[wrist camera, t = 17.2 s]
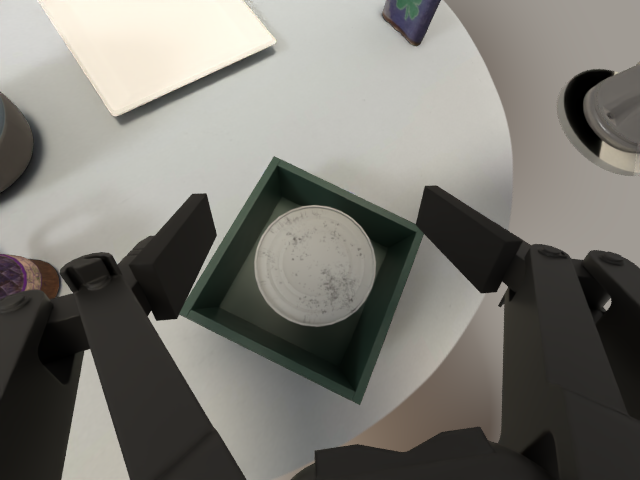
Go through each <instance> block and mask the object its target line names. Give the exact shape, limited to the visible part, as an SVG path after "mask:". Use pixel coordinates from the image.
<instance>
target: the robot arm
mask: <svg viewBox="0 0 640 480" xmlns="http://www.w3.org/2000/svg"><path fill="white" fill-rule="evenodd" d="M583 111H584V115H585V118H586V120H587V122H588V124H589V126H590V127H591V129H592V130H593V131H594V133H595V134H596V135H597V136H598V137H599V138H600V139H601V140H603V141H604V142H605V143H607V144H608V145H610V146H612V147H613V148H616V149H618V150H620V151H623V152H628V153H640V62H639V63H637V65H636V66H634V67H632V68H629V69H627V70H625V71H623V72H621V73H619V74H616V75H614V76H611V77H609V78H607V79H605V80H603V81H601V82H600V83H598V84H597V85H596V86H594V87H593V88H591V89H590V90H589V91H588V92H587V94H586V95H585V97H584V101H583ZM416 226H417V227H418V228H419V229H420V230H421V231H422V232H423V233H424V234H425V235H426V236H427V237H428V238H429V239H430V240H431V242H432V243H433V244H434V245H435V246H436V247H437V248H438V249H439V250H440V251H441V252H442V253H443V254H444V255H445V256H446V257H447V258H448V259H449V260H450V261H451V262H452V263H453V265H454V266H455V267H456V268H457V269H458V270H459V271H460V272H461V273H462V274H463V275H464V276H465V277H466V278H467V279H468V280H469V281H470V282H471V283H472V284H473V285H474V286H475V288H476V289H477V290H478V291H479V292H480V293H491V292H497V290H498V288H499V286H500V284H501V282H502V281H503V282H504V283H505V284H506V285H507V286H508V289H507V291H506V293H505V294H504V296H503V298H502V300H501V302H500V303H499V305H498V306H499V307H501V306H502V305H503V304H505V305H504V345H503V346H504V347H503V349H504V350H503V386H502V387H503V388H502V427H501V436H500V440H499V442H498V443H494V442H491V441H488V440H487V438H486V436H485V435H484V433H483V431H482V429H481V428H480V427H474V428H467V429H460V430H454V431H447V432H441V433H440V434H438V435H436V436H434V437H432V438H431V439H429V440H427V441H425V442H424V443H422V444H420V445H418V446H417V447H415V448H413V449H411V450H410V451H407V452H397V451H392V450H386V449H380V448H374V447H369V446H364V445H358V444H357V445H350V446H343V447H336V448H329V449H322V450H315V463H314V464H312V465H310V466H308V467H306V468H304V469H303V470H302V471H300V472H299V473H298V474H296V475H295V476H294V477H293V478H292V479H291V480H640V268H638V267H637V266H636V265H635V264H634V263H632V262H630V261H629V260H628V259H626V258H623V257H621V256H620V255H618V254H614V253H612V252H605V251H597V250H593V251H590V252H589V253H588V255H587V256H586V257H585V259H584V260H577V259H571V258H570V256H569V255H568V254H566V253H565V252H563V251H561V250H559V249H557V248H554V247H552V246H547V245H542V244H534V245H530V244H528V243H526V242H525V241H523V240H522V239H520V238H519V237H517V236H515V235H514V234H512V233H510V232H509V231H508V230H506V229H504V228H503V227H501V226H500V225H498V224H497V223H495V222H493V221H491V220H490V219H488V218H487V217H485V216H483V215H482V214H480V213H479V212H477V211H476V210H474V209H472V208H471V207H469V206H468V205H466V204H465V203H463V202H461V201H460V200H458V199H457V198H455V197H454V196H452V195H451V194H449V193H447V192H446V191H444V190H443V189H441V188H440V187H438V186H425V188H424V192H423V196H422V201H421V205H420V209H419V213H418V217H417V222H416ZM216 236H217V234H216V230H215V226H214V222H213V218H212V214H211V210H210V206H209V202H208V198H207V194H192V195H191V196H190V197H189V198H188V199H187V200H186V202H185V203H184V204H183V205H182V206H181V207H180V208H179V209H178V210H177V212H176V213H175V214H174V215H173V216H172V217H171V218H170V219H169V221H168V222H167V223H166V224H165V225H164V226H163V227H162V228H161V229H160V231H159V232H158V233H157V234H156V235H155V236H149V237H147V238H145V239H144V240H142V241H140V242H139V243H138V244H137V245H136V246H135V247H134V248H133V250H131V251H130V252H129V253H128V254H127V256H125V257H124V258H123V259H122V261H121V262H120V263H119V264H118V265H117V263H116V262H115V260H114V258H113V256H112V255H111V254H109V253H104V252H100V253H92V254H89V255H85V256H82V257H79V258H77V259H74V260H72V261H71V262H69V263H67V264H66V265H65V266H64V267H63V268H61V270H60V273H59V274H60V275H61V276H62V278H63V279H64V281H65V282H66V283H67V285H68V286H69V288H70V289H71V291H72V292H73V294H69V295H65V296H61V297H57V298H53V299H49V298H48V297H47V295H46V294H45V293H44V292H43V291H41V290H27V291H22V292H19V293H16V294H11V295H8V296H6V297H5V298H2V299H0V480H61V478H62V472H63V467H64V461H65V456H66V450H67V444H68V439H69V433H70V428H71V422H72V417H73V411H74V405H75V400H76V394H77V389H78V383H79V377H80V372H81V366H82V361H83V355H84V350H88V349H91V352H92V356H93V359H94V362H95V366H96V369H97V372H98V375H99V379H100V382H101V385H102V389H103V392H104V395H105V398H106V402H107V405H108V408H109V412H110V415H111V418H112V421H113V425H114V428H115V431H116V435H117V438H118V441H119V444H120V448H121V451H122V454H123V458H124V461H125V464H126V467H127V471H128V474H129V477H130V480H246V478H245V476H244V475H243V473H242V471H241V470H240V468H239V466H238V465H237V463H236V461H235V460H234V458H233V456H232V455H231V453H230V451H229V450H228V448H227V446H226V445H225V443H224V441H223V440H222V438H221V437H220V435H219V433H218V432H217V430H216V429H215V428H214V427H213V425H212V424H211V422H210V421H209V419H208V417H207V416H206V414H205V412H204V411H203V409H202V407H201V406H200V404H199V402H198V401H197V399H196V397H195V395H194V394H193V392H192V390H191V389H190V387H189V385H188V384H187V382H186V380H185V379H184V377H183V375H182V374H181V372H180V370H179V369H178V367H177V365H176V364H175V362H174V360H173V359H172V357H171V355H170V354H169V352H168V350H167V349H166V347H165V345H164V343H163V342H162V340H161V338H160V337H159V335H158V333H157V332H156V330H155V328H154V327H153V325H152V323H151V322H150V320H149V318H148V317H147V316H148V315H149V313H150V311H152V313H153V315H154V317H155V319H156V321H158V320H170V319H177V318H178V316H179V313H180V311H181V309H182V307H183V305H184V303H185V301H186V299H187V297H188V295H189V292H190V290H191V288H192V286H193V284H194V282H195V280H196V278H197V276H198V274H199V271H200V269H201V267H202V265H203V263H204V261H205V259H206V257H207V255H208V253H209V250H210V248H211V246H212V244H213V242H214V240H215V238H216ZM610 298H611V301H612V302H611V306H610V308H609V309H608V310H607V311H606V310H605V309H604V308H603V306H604V305H605V304H606V302H607V301H608V300H609V299H610Z"/></svg>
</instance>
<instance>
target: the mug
mask: <svg viewBox="0 0 640 480" xmlns="http://www.w3.org/2000/svg"><path fill="white" fill-rule="evenodd" d="M58 289H59V276H58V274H57V272H56V270H55V269H54V268H53V267H52V266H51V265H50V264H49V263H46V262H43V261H41V260H33V259H26V258H24V257H21V256H13V255H5V254H0V299H2V298H5V297H6V296H8V295H11V294H16V293H19V292H22V291H27V290H41V291H43V292H44V293H45V294H46V295H47V297H48V298H49V299H53V298H55V297H56V295H57V292H58Z"/></svg>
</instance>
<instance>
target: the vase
mask: <svg viewBox="0 0 640 480" xmlns="http://www.w3.org/2000/svg"><path fill="white" fill-rule="evenodd" d="M32 152H33V135H32V131H31V129H30V126H29V124H28V122H27V121H26V119H25V117H24V116H23V114H22V113H21V112H20V111H19V109H18V108H17V107H16V106H15V105H14V104H13V103H12V102H11V101H10V100H9V99H8V98H7V97H6V96H5V95H4V94H3V93H1V92H0V192H2V191H3V190H5V189H6V188H8V187H9V186H10V185H12V184H13V183H14V182H15V181H16V180H17V179H18V178H19V177H20V176H21V174H22V173H23V172H24V170H25V169H26V167H27V165H28V164H29V161H30V159H31V156H32Z"/></svg>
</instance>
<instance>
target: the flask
mask: <svg viewBox="0 0 640 480" xmlns="http://www.w3.org/2000/svg"><path fill="white" fill-rule="evenodd" d="M440 1H441V0H386V3H385V6H384V9H383V14H382V15H383V16H384V19H385V20H386V21H387V22H388V21H389V23H390V24H391V25H392V26H393V27H394V28H395V29H396V30H397V31H399V32H401V33H402V35H403V36H405V37H406V39H407V40H408V41H409V42H410V44H412V45H416V46H417V45H419V44H420V43H421V41H422V39H423V38H424V36H425V34H426V32H427V30H428V27H429V25H430V22H431V20H432V18H433V16H434V14H435V11H436V9H437V7H438V5H439V3H440Z"/></svg>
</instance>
